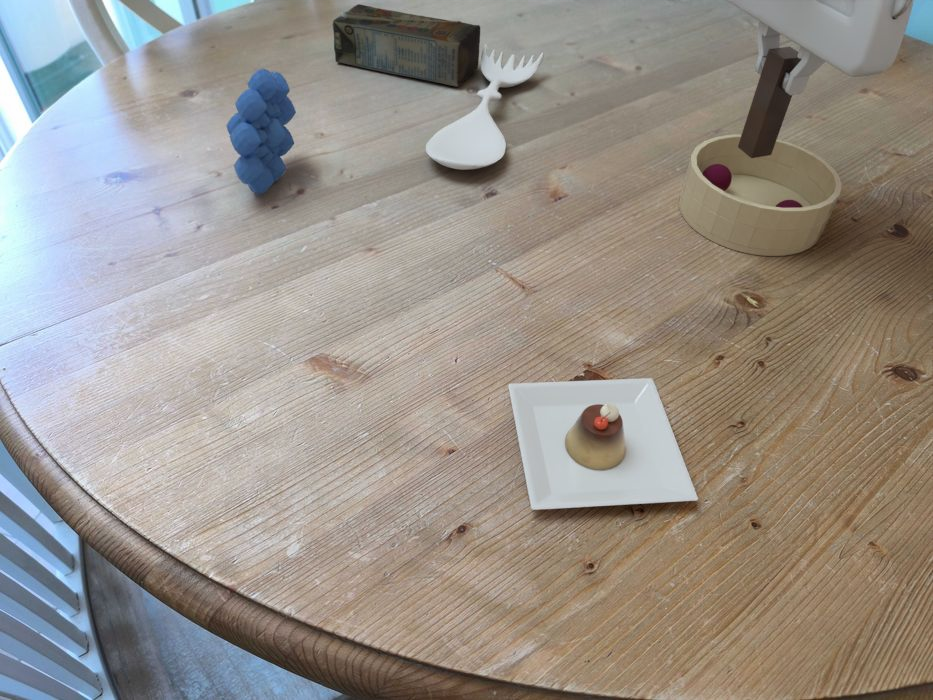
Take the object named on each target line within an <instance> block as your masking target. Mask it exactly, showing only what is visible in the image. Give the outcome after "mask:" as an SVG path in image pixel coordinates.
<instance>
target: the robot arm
mask: <svg viewBox="0 0 933 700" xmlns="http://www.w3.org/2000/svg"><path fill="white" fill-rule="evenodd" d="M725 2H728V3H730V4H731V5H733V6H734V7H736V8H738V9H740V10H741V11H743V12H744V13H746V14H747V15H748V16H750V17H752V18H754V19H756V20H757V21H759V22H758V25H757V28H756V40H757V50H758V51H757V52H758V57H757V61H756V63H755V67H754V72H756V73H757V74H759V76H760V75H761V72H762V69H763V66H764V63H765V60H766V57H767V53H768V50H769V49H774V48H780V44H781V43H780V39H781V36H783V37H785V38H786V39H788V40H789V41H791V42H792V43H794V44H796V45H798V46H800V47H799V50H798V52H799V53H798V58H799V59H801V61H800V62H799V63H798V64H797V66H796V67H795V68H794V69H793V70H787V71H784V73H783V76H782V81H781V82H780V85H779V87H780V88H781V89H782V90H783V91H785V92H786V93H788V94H789V95H792V96H795V95H800V94H802V93H803V92H804V91H805V89H806V87H807V83H808V81H809V79H810V76H812V75H813V74H814V73H815V72H816V71H817V70H819V68H820V67H822V66H823V64H825V63H827V64H829V65H830V66H831V67H832V68H833V67H834V68H835V69H837V70H838V71H840V72H842V73H843V74H845V75H846V76H848V77H851V78H860V77H868V76H875V75H880V74H882V73H883V72H885V71H886V70H888V69H889V68H890V67H891V66H892V65H893V64H894V62H895V60H896V59H897V56H898V53H899V51H900V48H901V45H902V42H903V39H904V36H905V33H906V30H907V27H908V24H909V20H910V17H911V13H912V10H913V5H914V2H915V0H725Z"/></svg>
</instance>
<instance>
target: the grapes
mask: <svg viewBox="0 0 933 700" xmlns="http://www.w3.org/2000/svg"><path fill="white" fill-rule="evenodd" d="M247 87H248V88H247V89H245V90H244V91H242V93H240V95H239V96H238V98H237V100H236V101H235V103H234V105H235V108H236V111H237V112H235V113H234V114H233V115H232V116H231V117H230V118H229V121H228V122H227V123H226V129H227V132H228V135H229V140H230V143H231V145H232V147H233V149H234V151H235V152H236V153H237V154H238V155H239V157H238V158H237V159H236V161H235V162H234V164H233V168H234V172H235V173H236V176H237V178H238V179H239V180H240V181H241V183H242V184H244V185H247V186H248V188H249V189H250V190H251V192H252V193H253V194H256V195H262V194H265V193H266V192H267V191H268V190H269V188H271V187H272V186H273V184H274V183H275V182H277V181H279V179H281V177H282V176H283V175H284V174H285V173H286V171H287V168H286V166H285V163H284V160H283V158H282V156H285V155H286V154H287V153H289V151H290V150H291V149H292V148H293V146H294V145H295V141H294V137H293V135H292V133H291V132H290V130H289V129H288V128H287V127H286V125H288V123H289V122H290V121H292V119H293V118H294V116H295V115H296V113H297V111H296V107H295V106H294V104H293V101H292V100H291V98H289V96H288V94H289V93H290V91H291V89H290V86H289V84H288V82H287V80H286V78H285V77H284V75H283V74H282V73H280V72H278V71H272V72H271V71H269V70H268V69H266V68H263V67H262V68H259V69H257V70H256V71H255V72H254V73H253V74H252V75H251V76H250V78H249V80H248V82H247Z"/></svg>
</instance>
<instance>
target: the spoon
mask: <svg viewBox="0 0 933 700" xmlns="http://www.w3.org/2000/svg"><path fill="white" fill-rule="evenodd" d="M495 58H496V48H494V49H492V51H491V53H490V55H488V44H487V43H485V44H484V46H483V48H482V50H481V56H480V71H481V73H482V75H483V76H484V78H485V79H486V80H487V81H488V82H489V85H488V86H487V87H486V88H484V89H480V90H478V91H477V93H476V95H477V98H480V99H481V101H480V103H479V104H478V106H477V107H476V108H475V109H473V110H472V111H470V112H469V113H468V114H466V115H463V116H462V117H461V118H459V119H457V120H455V121H454V122H452V123H450V124H447V125H446V126H444V127H442V128H440V129H439V130H438V131H437V132H436V133H434V134H433V136H432V137H430V138H429V140H428V141H427V142H426V145H425V152H426V153H427V155H428V156H429V158H430V159H432V160H433V161H435V163H438V164H439V165H442V166H444V167H446V168H450V169H455V170H476V169H477V170H478V169H481V168H485V167H488V166H491V165H493V164H495V163H497V162H498V161H499V160H501V159H502V158H503V157H504V155H505V153H506V149H507V143H506V138H505V136H504V134H503V132H502V131H501V130H500V128H499V126H498V125H497V124H496V122H495V121H494V119H493V117H492V115H491V114H490V109H489V108H490V107H489V106H490V104H491V103H492V102H495V101H499V100H501V99H502V94H501V93H500V92H499V88H511V87H515V86H517V85H520V84H522V83H525V82H526V81H528V80H529V79H530V78H531V77H532V76H533V75H534V74H535V73H536V71H537V70H538V68H539V67H540V66H541V65H542V63H543V61H544V58H545V53H544V52H541V54H540V55H539V56H538V58H537V59H536V60H535V61H534V58H535V53H534V54H532V55H531V56H530V58H529V60H528V61H527V63H526V64H525V62H526V54H524V55H523V56H522V58H521V60H520V62H519V63H518V65H517V66H516V68H515V63H516V56H515V54H514V53H513V54H511V55H510V56H509V58H508V60H507V61H506V63H505V65H504V66H503V65H502V64H503V58H504V51H503V50H502V51H501V53H500V54H499V56H498V58H497V60H496V62H495ZM502 66H503V67H502Z"/></svg>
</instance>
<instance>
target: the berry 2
mask: <svg viewBox="0 0 933 700" xmlns="http://www.w3.org/2000/svg"><path fill="white" fill-rule="evenodd" d="M775 207H781V208H801V207H803V206H802V205H801V204H800V203H799V202H797V201H795V200H784V201H782V202H780V203H778V204H777V205H776V206H775Z"/></svg>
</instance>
